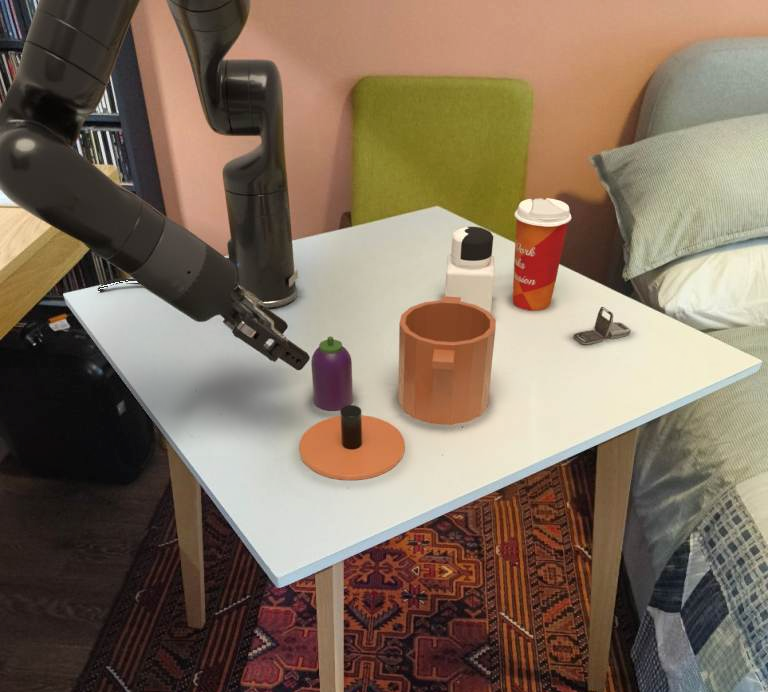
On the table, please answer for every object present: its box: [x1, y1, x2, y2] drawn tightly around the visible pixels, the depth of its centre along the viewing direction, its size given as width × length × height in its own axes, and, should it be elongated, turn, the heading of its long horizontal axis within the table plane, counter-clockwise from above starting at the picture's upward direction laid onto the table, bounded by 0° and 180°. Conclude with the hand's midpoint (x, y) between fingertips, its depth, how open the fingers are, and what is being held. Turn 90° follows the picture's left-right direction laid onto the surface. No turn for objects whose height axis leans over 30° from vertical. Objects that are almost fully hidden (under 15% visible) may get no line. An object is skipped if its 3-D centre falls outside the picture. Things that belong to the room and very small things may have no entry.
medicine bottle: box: [444, 226, 495, 315], centre depth 116 cm, size 7×7×12 cm
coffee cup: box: [512, 197, 572, 312], centre depth 117 cm, size 8×8×15 cm
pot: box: [397, 295, 497, 426], centre depth 96 cm, size 11×17×12 cm
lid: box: [298, 404, 405, 481], centre depth 89 cm, size 12×12×6 cm
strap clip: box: [573, 306, 631, 345], centre depth 112 cm, size 8×3×4 cm, turn 113°
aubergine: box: [310, 336, 354, 412], centre depth 96 cm, size 5×5×10 cm
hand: (293, 346), depth 92 cm, fingers open, 8 cm apart
